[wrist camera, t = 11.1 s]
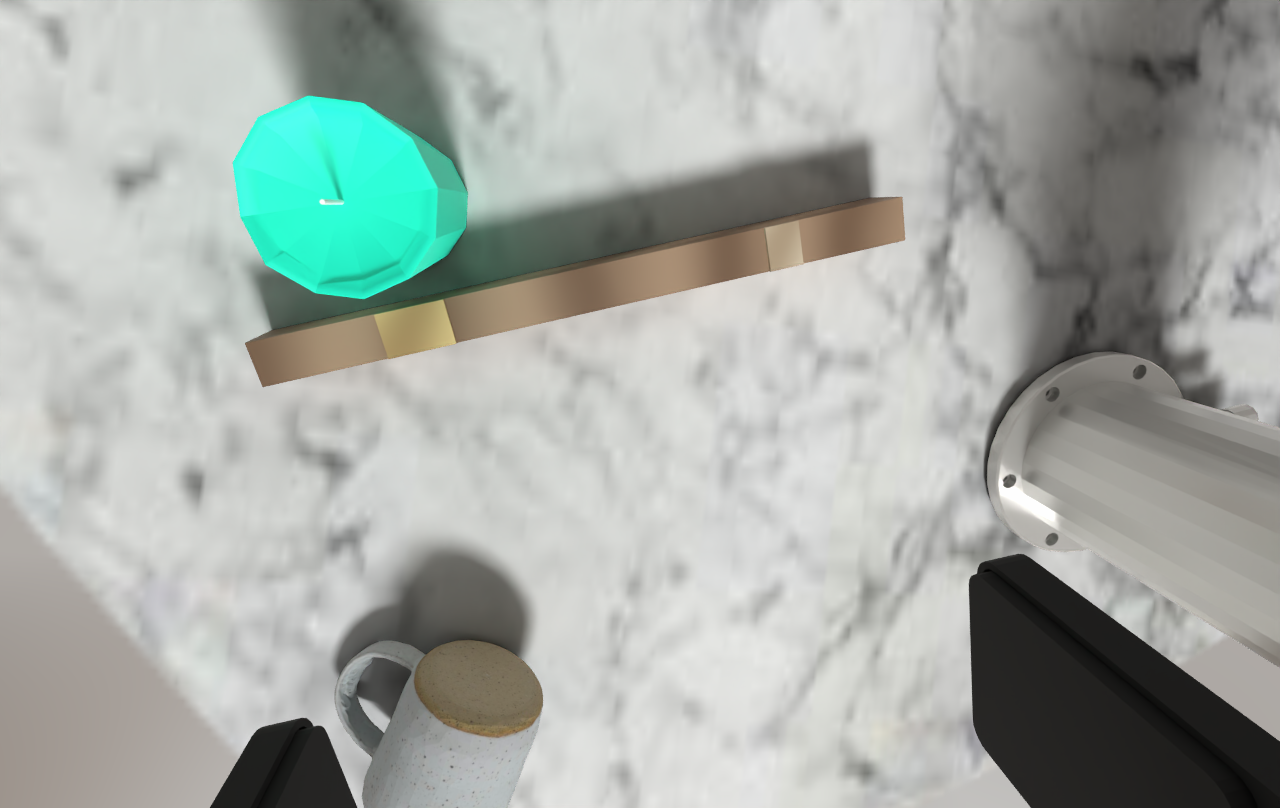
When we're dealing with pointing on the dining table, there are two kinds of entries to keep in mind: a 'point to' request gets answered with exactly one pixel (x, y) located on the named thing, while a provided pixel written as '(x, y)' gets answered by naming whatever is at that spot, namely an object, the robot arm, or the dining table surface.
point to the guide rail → (572, 289)
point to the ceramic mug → (445, 726)
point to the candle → (346, 197)
